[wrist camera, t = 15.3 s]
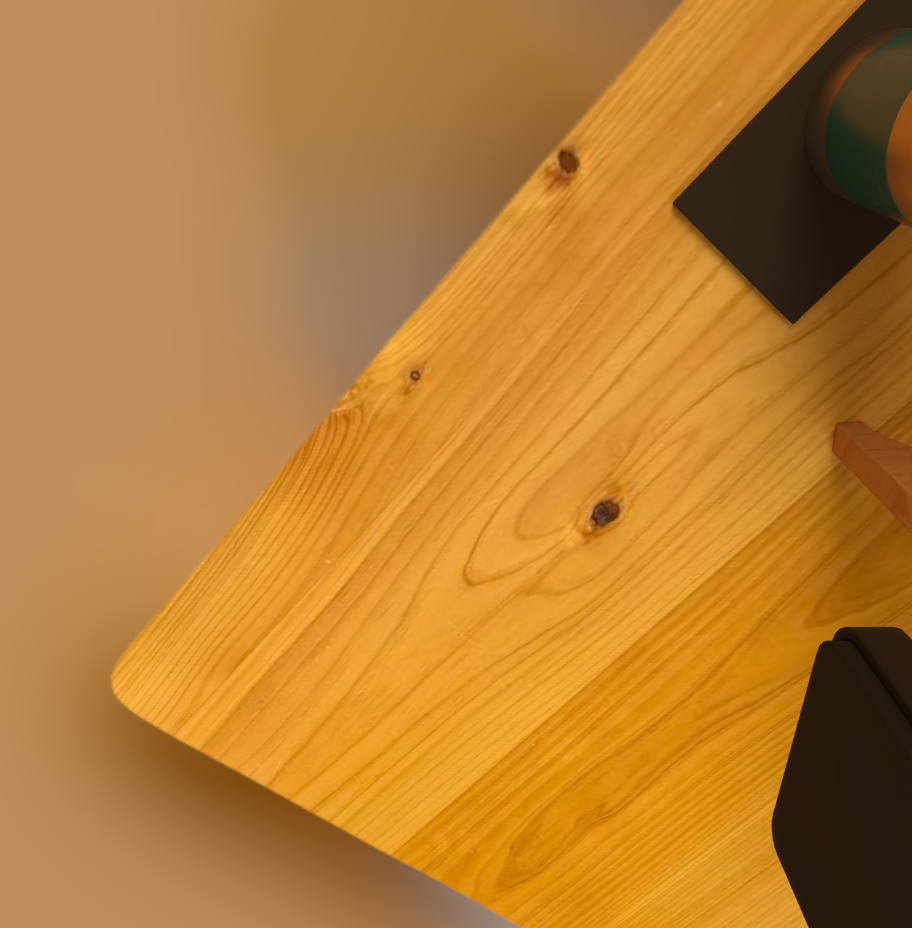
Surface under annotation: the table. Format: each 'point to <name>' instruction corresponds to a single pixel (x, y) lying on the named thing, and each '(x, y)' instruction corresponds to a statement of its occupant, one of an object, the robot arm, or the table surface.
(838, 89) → the can
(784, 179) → the black flat rectangular slab
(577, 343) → the table surface
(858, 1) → the table surface
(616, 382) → the table surface
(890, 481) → the planter
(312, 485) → the table surface
